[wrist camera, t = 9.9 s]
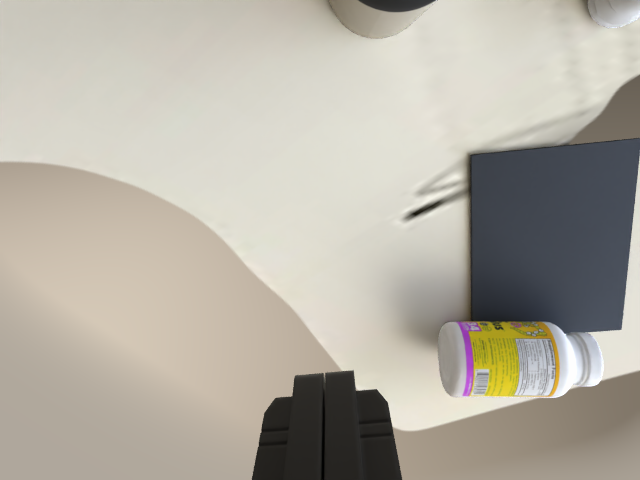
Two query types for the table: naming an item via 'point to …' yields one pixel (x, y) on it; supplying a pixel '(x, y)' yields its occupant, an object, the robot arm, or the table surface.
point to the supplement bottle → (515, 359)
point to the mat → (553, 234)
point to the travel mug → (379, 15)
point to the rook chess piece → (614, 12)
